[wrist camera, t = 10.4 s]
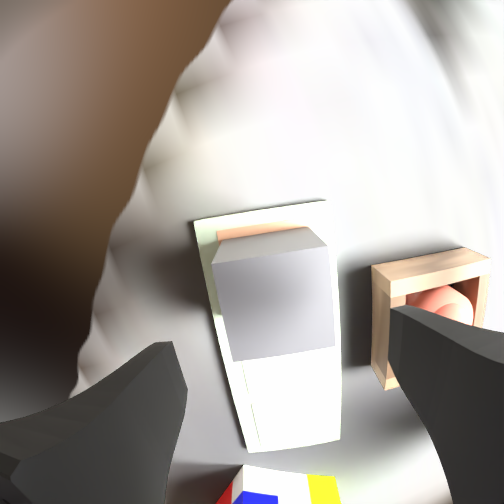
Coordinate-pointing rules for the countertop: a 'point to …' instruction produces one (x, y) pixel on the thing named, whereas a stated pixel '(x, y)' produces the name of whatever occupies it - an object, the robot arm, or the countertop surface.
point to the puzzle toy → (279, 488)
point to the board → (281, 367)
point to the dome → (443, 303)
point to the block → (275, 293)
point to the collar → (418, 279)
